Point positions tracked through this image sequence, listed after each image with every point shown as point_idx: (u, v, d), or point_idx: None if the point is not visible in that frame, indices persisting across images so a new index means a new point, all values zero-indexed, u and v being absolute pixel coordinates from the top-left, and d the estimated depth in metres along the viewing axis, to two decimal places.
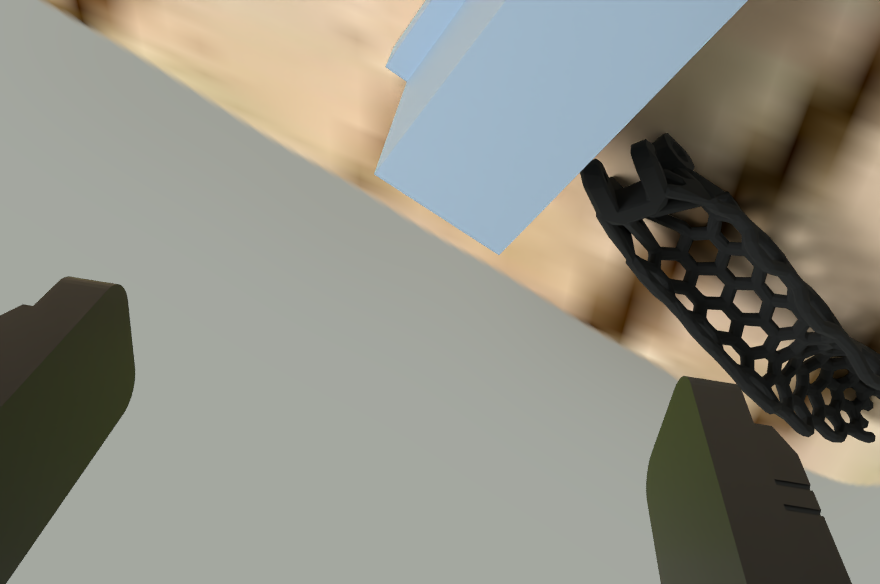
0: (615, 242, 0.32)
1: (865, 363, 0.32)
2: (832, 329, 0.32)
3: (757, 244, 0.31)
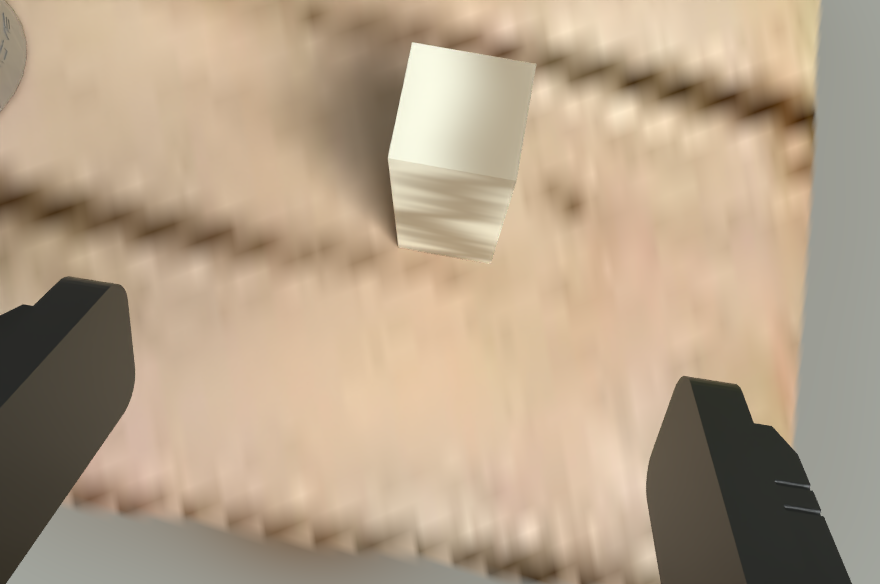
0: None
1: None
2: None
3: None
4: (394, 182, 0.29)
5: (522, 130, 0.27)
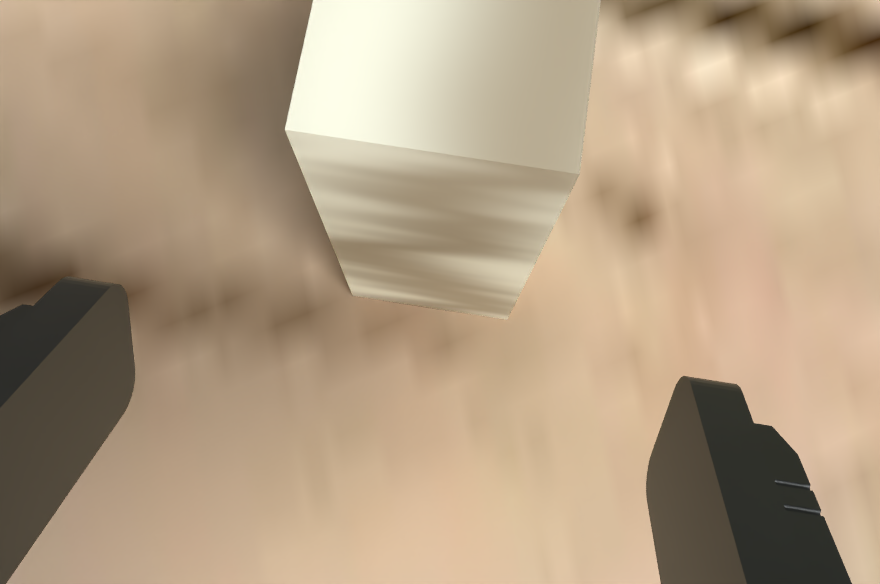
0: None
1: None
2: None
3: None
4: (315, 185, 0.14)
5: (587, 61, 0.12)
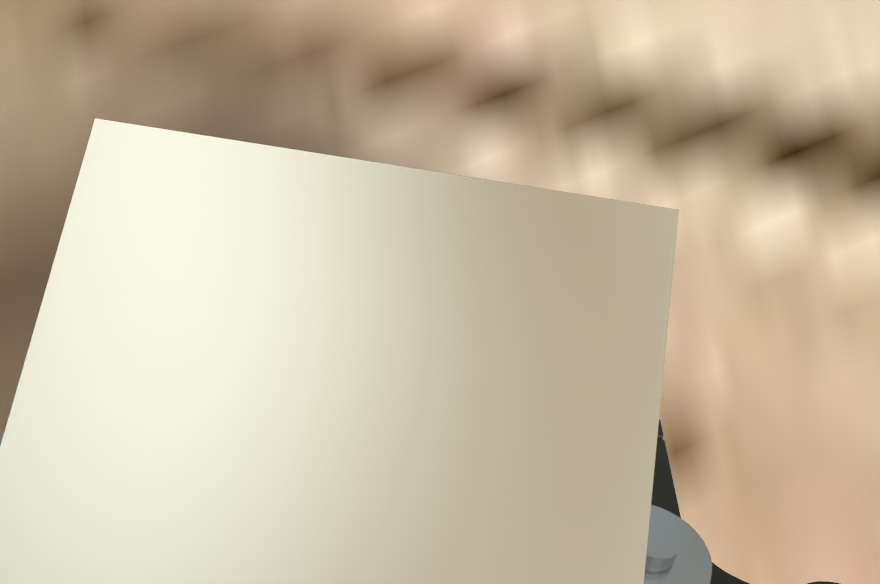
0: None
1: None
2: None
3: None
4: None
5: (632, 571, 0.05)
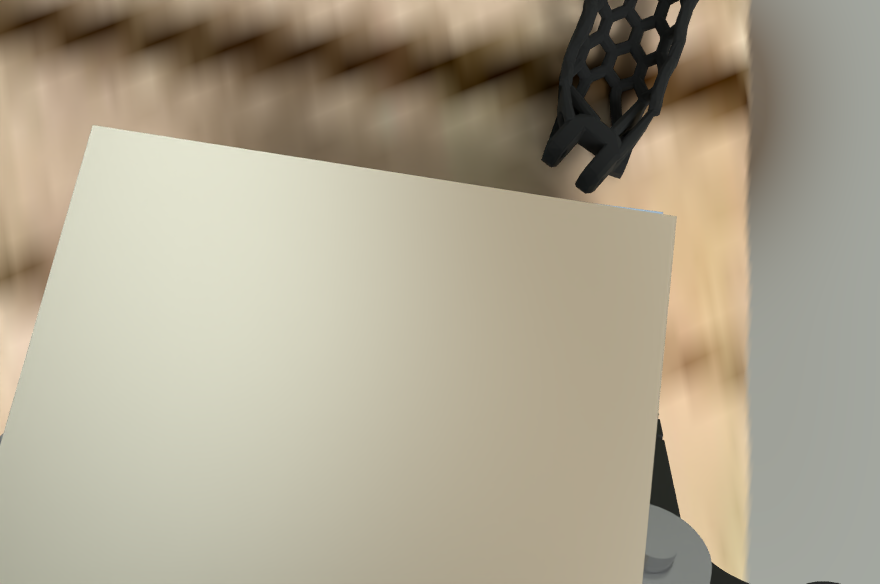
0: (639, 131, 0.35)
1: None
2: None
3: (578, 30, 0.36)
4: None
5: (630, 579, 0.05)
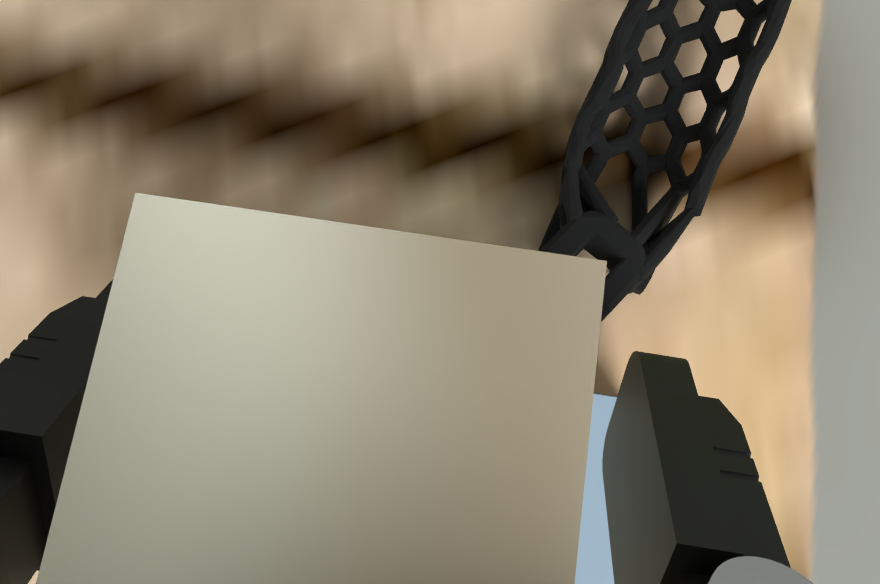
0: (672, 241, 0.25)
1: None
2: None
3: (595, 91, 0.26)
4: None
5: (567, 550, 0.07)
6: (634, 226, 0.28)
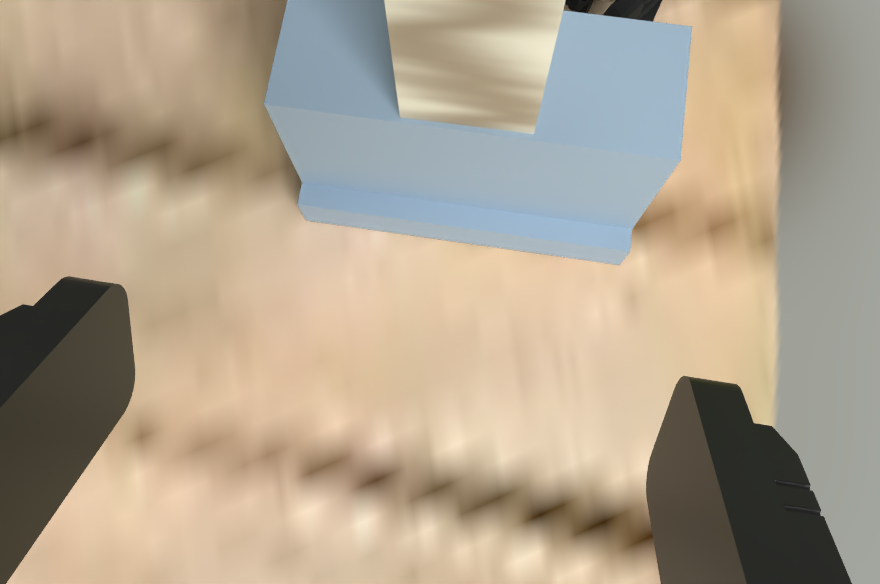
0: None
1: None
2: None
3: None
4: None
5: None
6: None
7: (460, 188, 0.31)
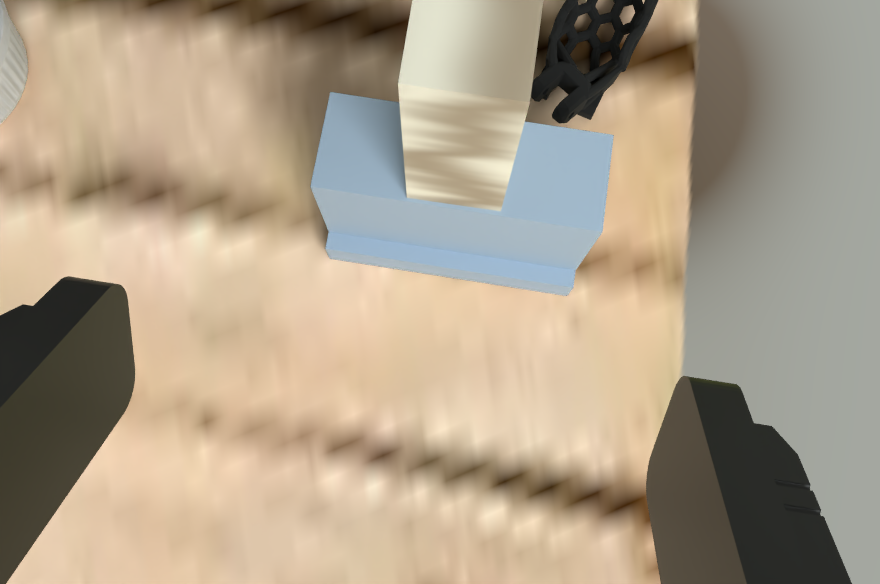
0: (607, 80, 0.45)
1: None
2: None
3: None
4: (404, 114, 0.29)
5: (534, 52, 0.27)
6: None
7: (448, 240, 0.42)
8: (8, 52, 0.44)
